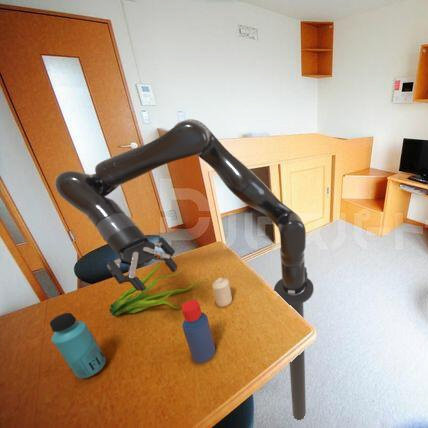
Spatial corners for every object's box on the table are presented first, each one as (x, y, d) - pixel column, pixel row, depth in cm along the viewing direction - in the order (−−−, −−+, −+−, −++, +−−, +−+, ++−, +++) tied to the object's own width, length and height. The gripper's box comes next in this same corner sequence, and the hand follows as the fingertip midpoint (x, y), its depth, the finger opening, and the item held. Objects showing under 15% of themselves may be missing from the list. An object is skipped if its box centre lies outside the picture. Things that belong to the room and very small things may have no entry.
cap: (198, 307, 66) (195, 297, 65) (203, 316, 64) (200, 305, 62) (182, 315, 64) (179, 305, 62) (187, 324, 61) (184, 314, 60)
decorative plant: (199, 316, 82) (190, 283, 76) (109, 320, 80) (92, 287, 74) (216, 281, 99) (210, 251, 92) (141, 284, 96) (129, 253, 90)
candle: (216, 308, 85) (211, 287, 81) (216, 298, 90) (211, 277, 86) (232, 304, 88) (228, 282, 83) (231, 294, 92) (227, 273, 88)
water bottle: (210, 339, 74) (198, 294, 66) (218, 353, 70) (207, 307, 62) (189, 352, 70) (174, 306, 63) (196, 367, 66) (181, 320, 59)
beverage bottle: (97, 382, 63) (63, 329, 54) (70, 384, 62) (32, 330, 54) (114, 358, 69) (86, 307, 60) (90, 359, 68) (58, 308, 60)
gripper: (91, 239, 56) (135, 292, 56) (152, 216, 68) (188, 260, 68) (88, 252, 60) (129, 301, 61) (146, 228, 72) (180, 270, 72)
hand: (160, 279), depth 64 cm, fingers open, 8 cm apart
